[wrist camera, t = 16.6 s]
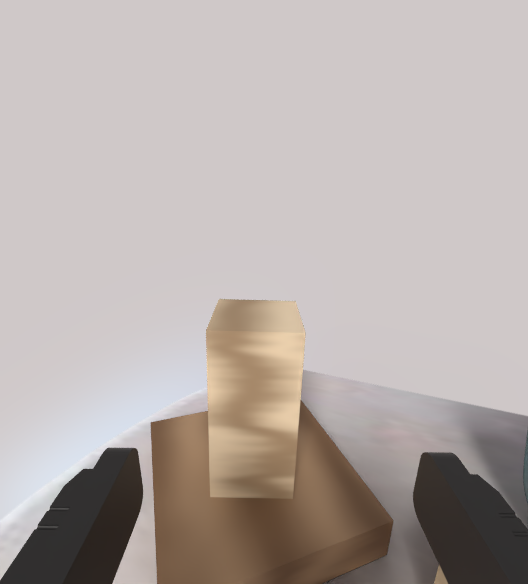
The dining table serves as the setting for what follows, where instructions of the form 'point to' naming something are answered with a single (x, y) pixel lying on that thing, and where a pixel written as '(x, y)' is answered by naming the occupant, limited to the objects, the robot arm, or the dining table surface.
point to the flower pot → (526, 470)
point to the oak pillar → (254, 397)
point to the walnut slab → (260, 514)
